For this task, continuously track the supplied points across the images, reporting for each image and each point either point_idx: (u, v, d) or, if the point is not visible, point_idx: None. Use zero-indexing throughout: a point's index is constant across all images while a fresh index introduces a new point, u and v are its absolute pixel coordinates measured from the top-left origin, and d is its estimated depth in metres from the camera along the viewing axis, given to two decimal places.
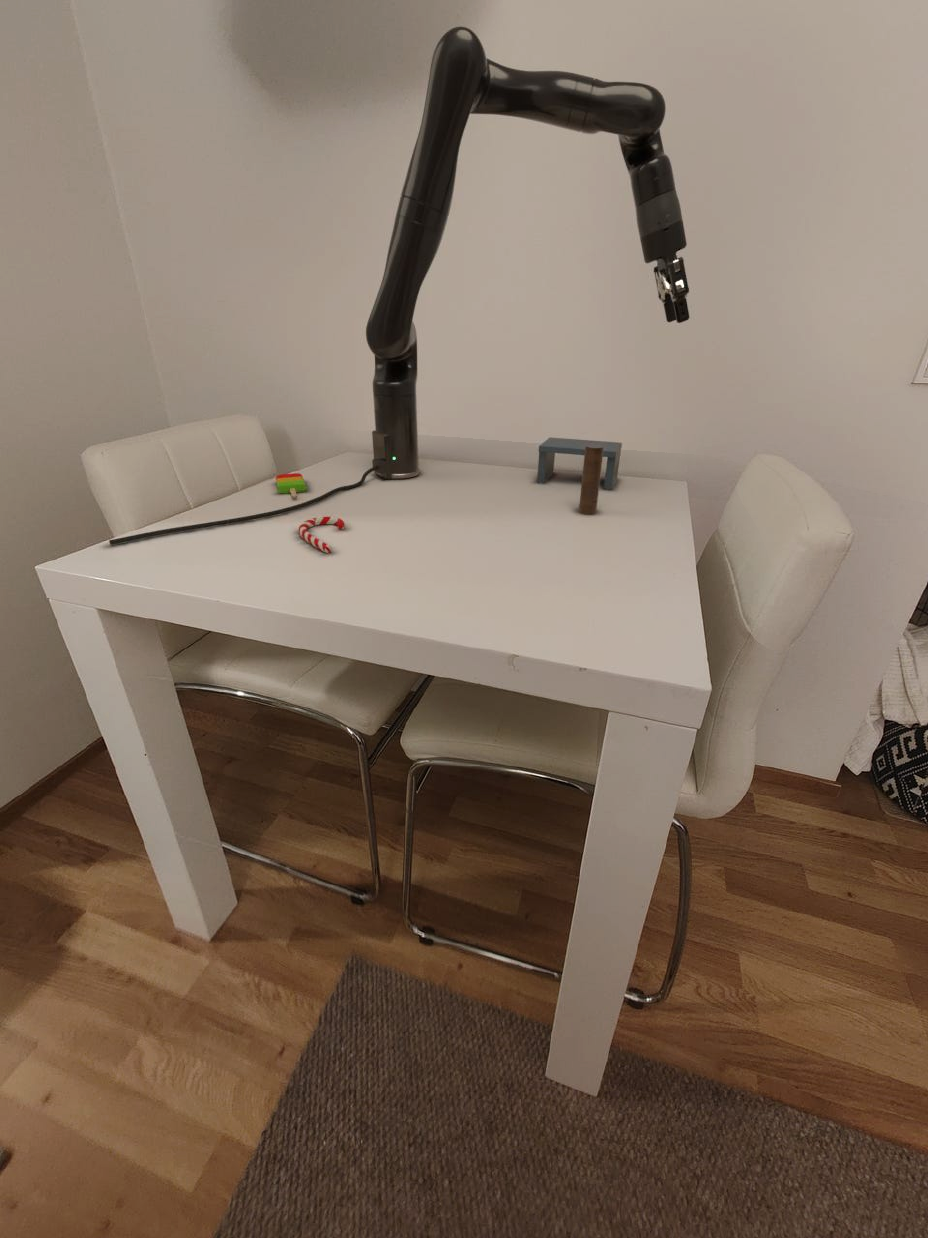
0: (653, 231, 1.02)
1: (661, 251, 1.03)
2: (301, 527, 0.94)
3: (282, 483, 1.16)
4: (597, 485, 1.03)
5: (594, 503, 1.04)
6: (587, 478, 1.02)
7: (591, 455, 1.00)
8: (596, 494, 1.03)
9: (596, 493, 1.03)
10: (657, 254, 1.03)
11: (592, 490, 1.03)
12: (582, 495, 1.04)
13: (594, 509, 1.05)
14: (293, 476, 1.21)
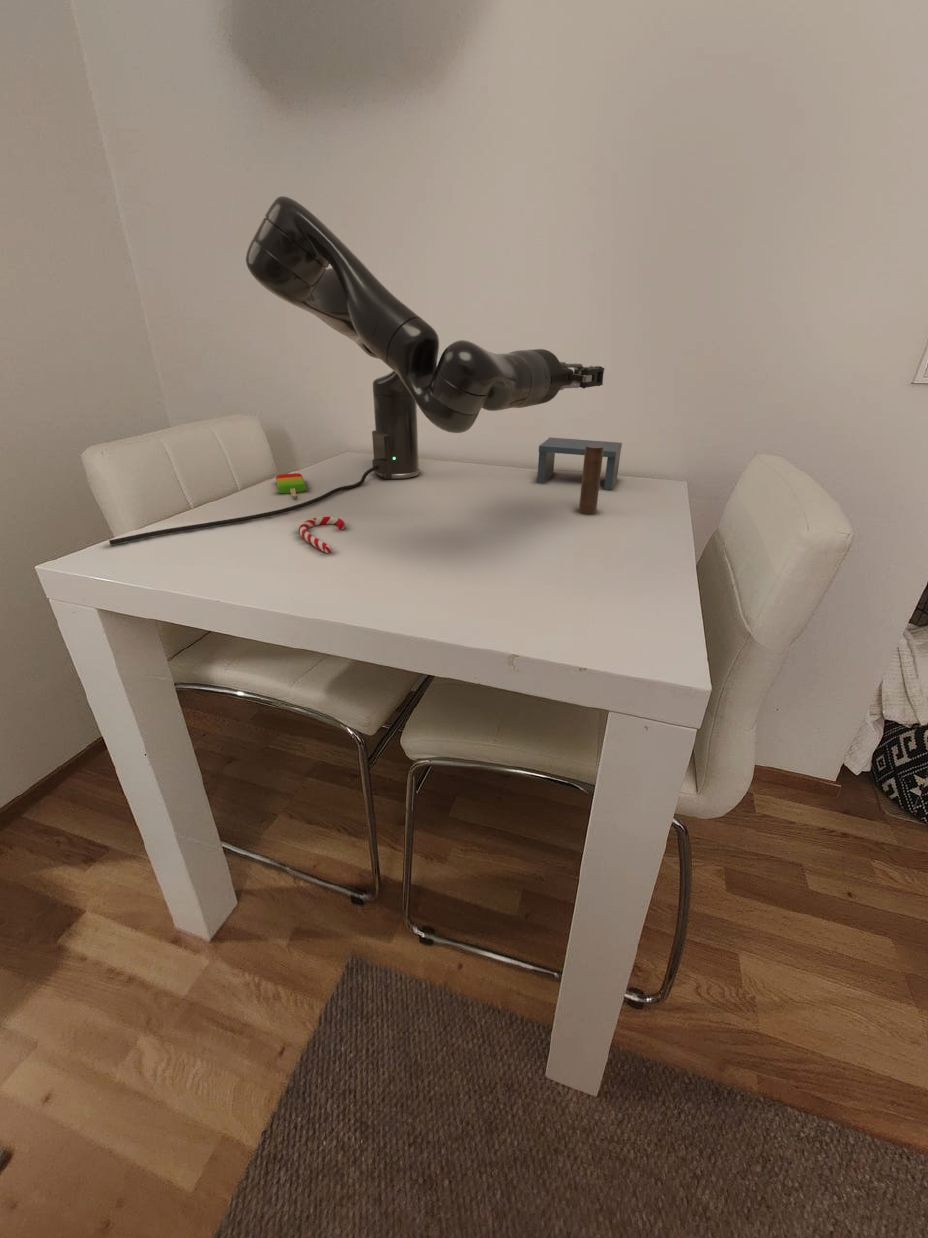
0: (545, 394, 0.81)
1: (558, 388, 0.83)
2: (301, 527, 0.94)
3: (282, 483, 1.16)
4: (597, 485, 1.03)
5: (594, 503, 1.04)
6: (587, 478, 1.02)
7: (591, 455, 1.00)
8: (596, 494, 1.03)
9: (596, 493, 1.03)
10: (556, 392, 0.84)
11: (592, 490, 1.03)
12: (582, 495, 1.04)
13: (594, 509, 1.05)
14: (293, 476, 1.21)
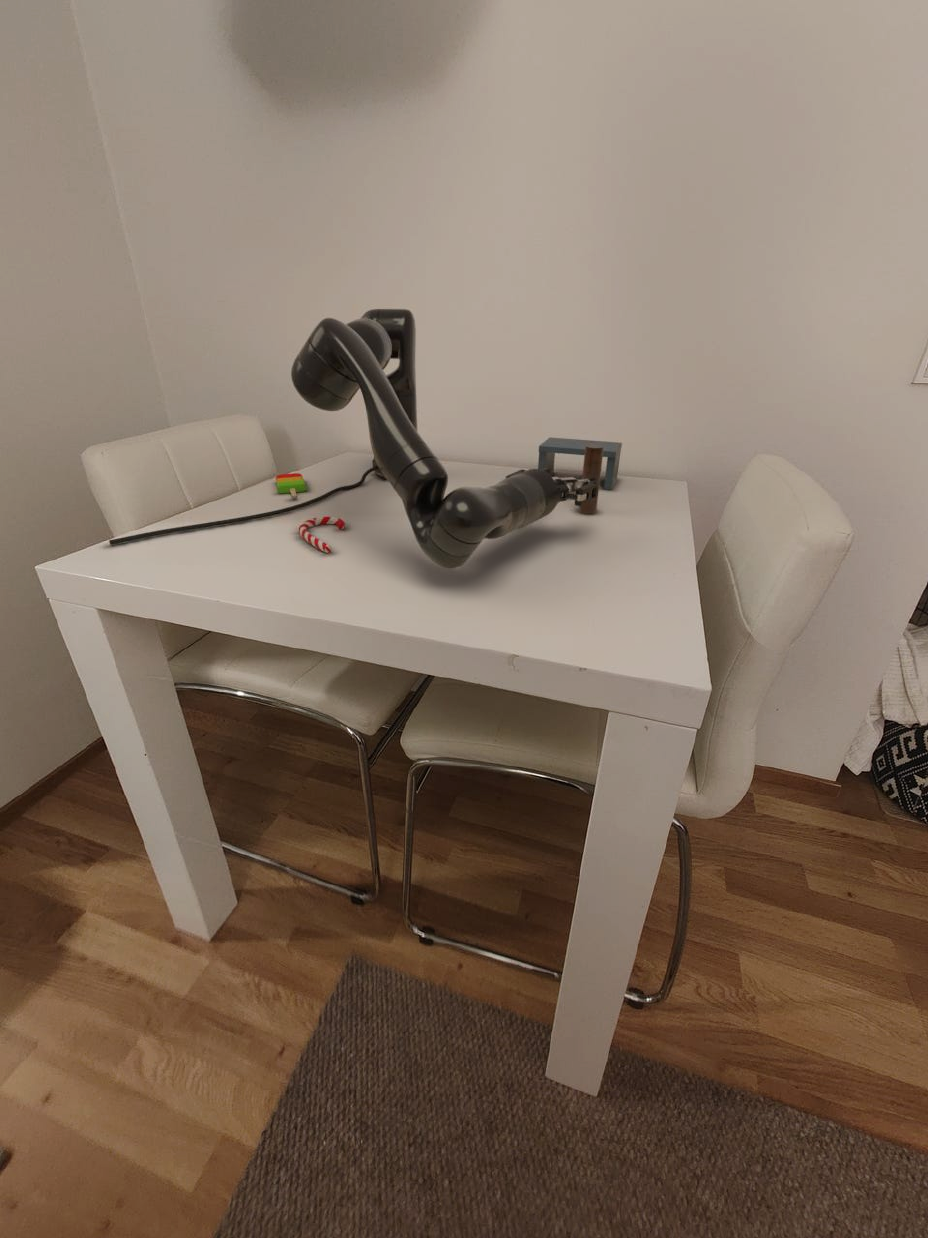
0: (541, 515, 0.84)
1: (554, 506, 0.86)
2: (301, 527, 0.94)
3: (282, 483, 1.16)
4: None
5: (594, 503, 1.04)
6: None
7: (591, 455, 1.00)
8: None
9: None
10: (552, 510, 0.87)
11: None
12: None
13: (594, 509, 1.05)
14: (293, 476, 1.21)
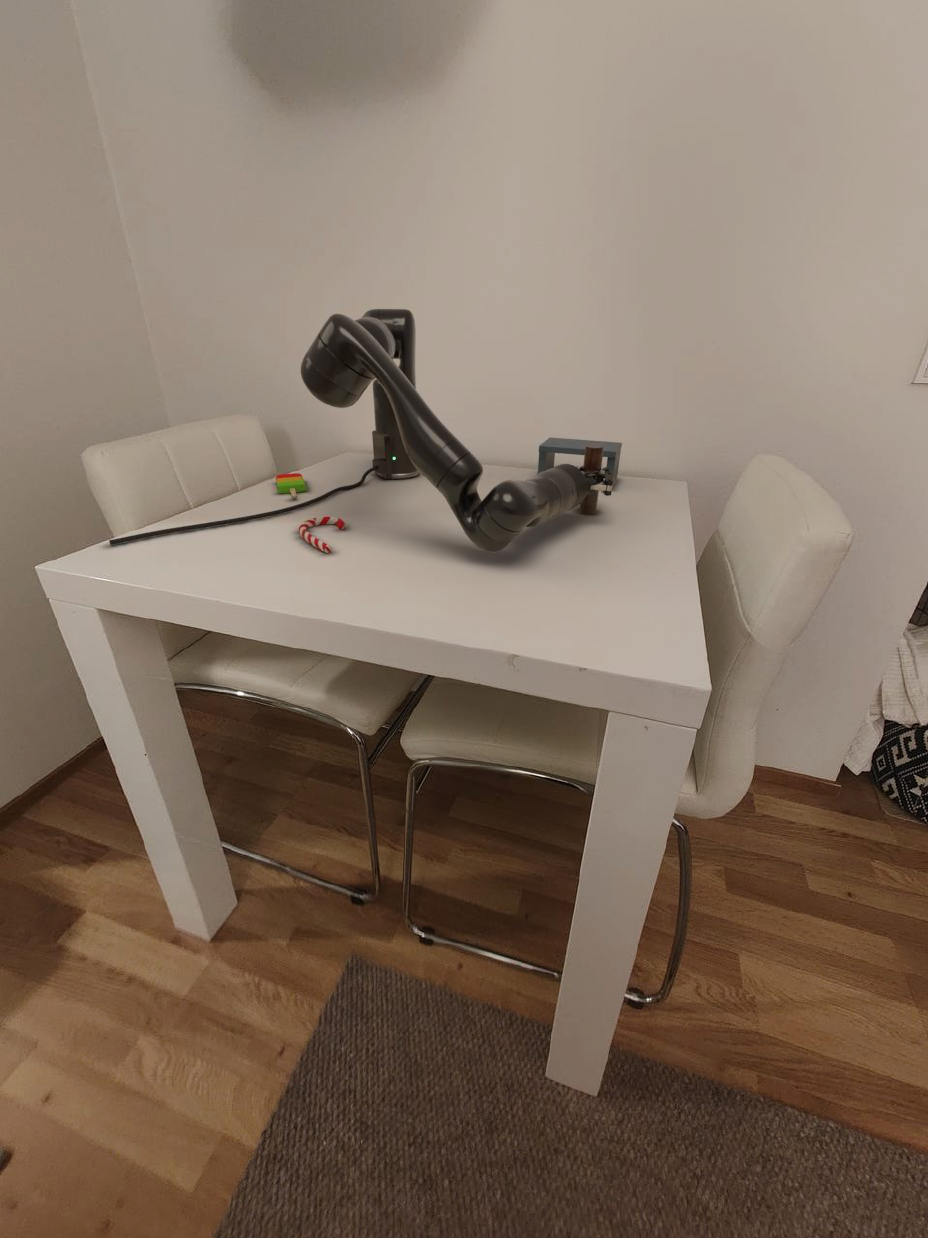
0: (572, 506, 0.92)
1: (583, 498, 0.94)
2: (301, 527, 0.94)
3: (282, 483, 1.16)
4: None
5: (594, 503, 1.04)
6: None
7: (591, 455, 1.00)
8: (596, 494, 1.03)
9: (596, 493, 1.03)
10: (581, 501, 0.95)
11: None
12: None
13: (594, 509, 1.05)
14: (293, 476, 1.21)
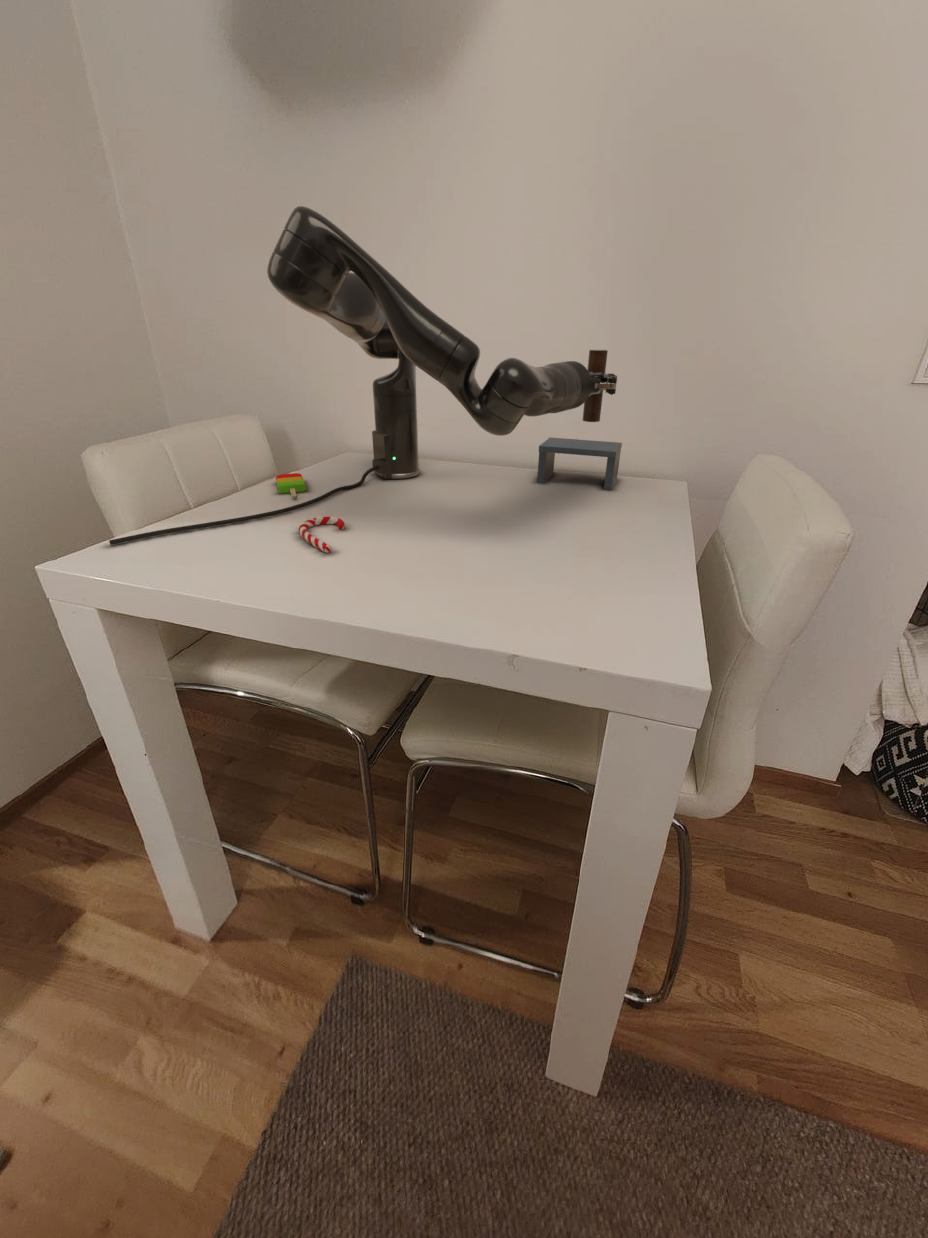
0: (576, 401, 0.93)
1: (587, 395, 0.95)
2: (301, 527, 0.94)
3: (282, 483, 1.16)
4: (601, 391, 1.03)
5: (598, 409, 1.04)
6: None
7: (595, 358, 1.00)
8: (600, 400, 1.04)
9: (600, 399, 1.04)
10: (585, 399, 0.95)
11: (596, 396, 1.03)
12: (586, 402, 1.04)
13: (598, 416, 1.05)
14: (293, 476, 1.21)
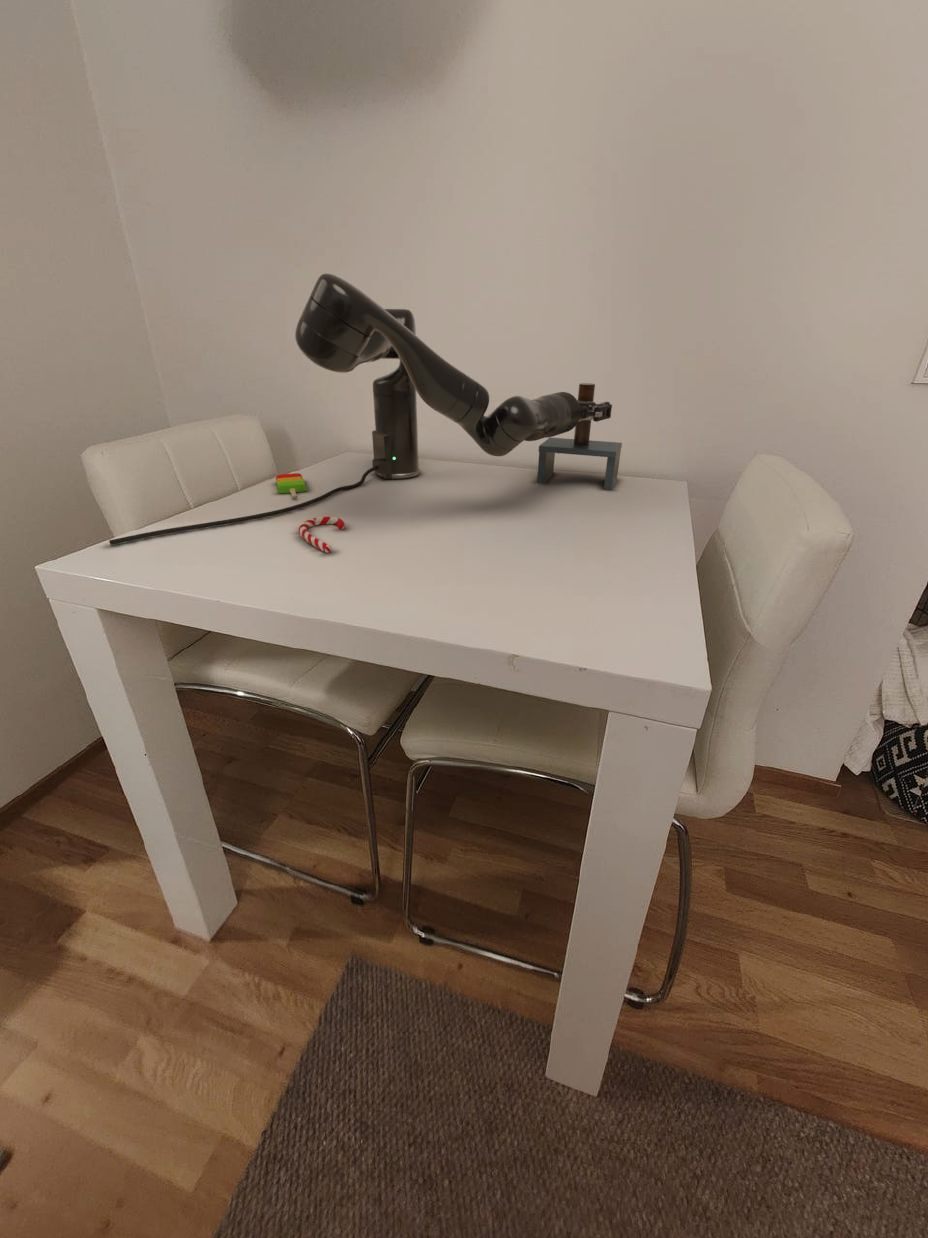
0: (567, 427, 1.07)
1: (577, 421, 1.09)
2: (301, 527, 0.94)
3: (282, 483, 1.16)
4: None
5: (587, 435, 1.19)
6: None
7: (584, 391, 1.15)
8: (588, 427, 1.19)
9: (588, 426, 1.19)
10: (575, 425, 1.10)
11: (585, 423, 1.18)
12: (577, 428, 1.19)
13: (587, 441, 1.20)
14: (293, 476, 1.21)
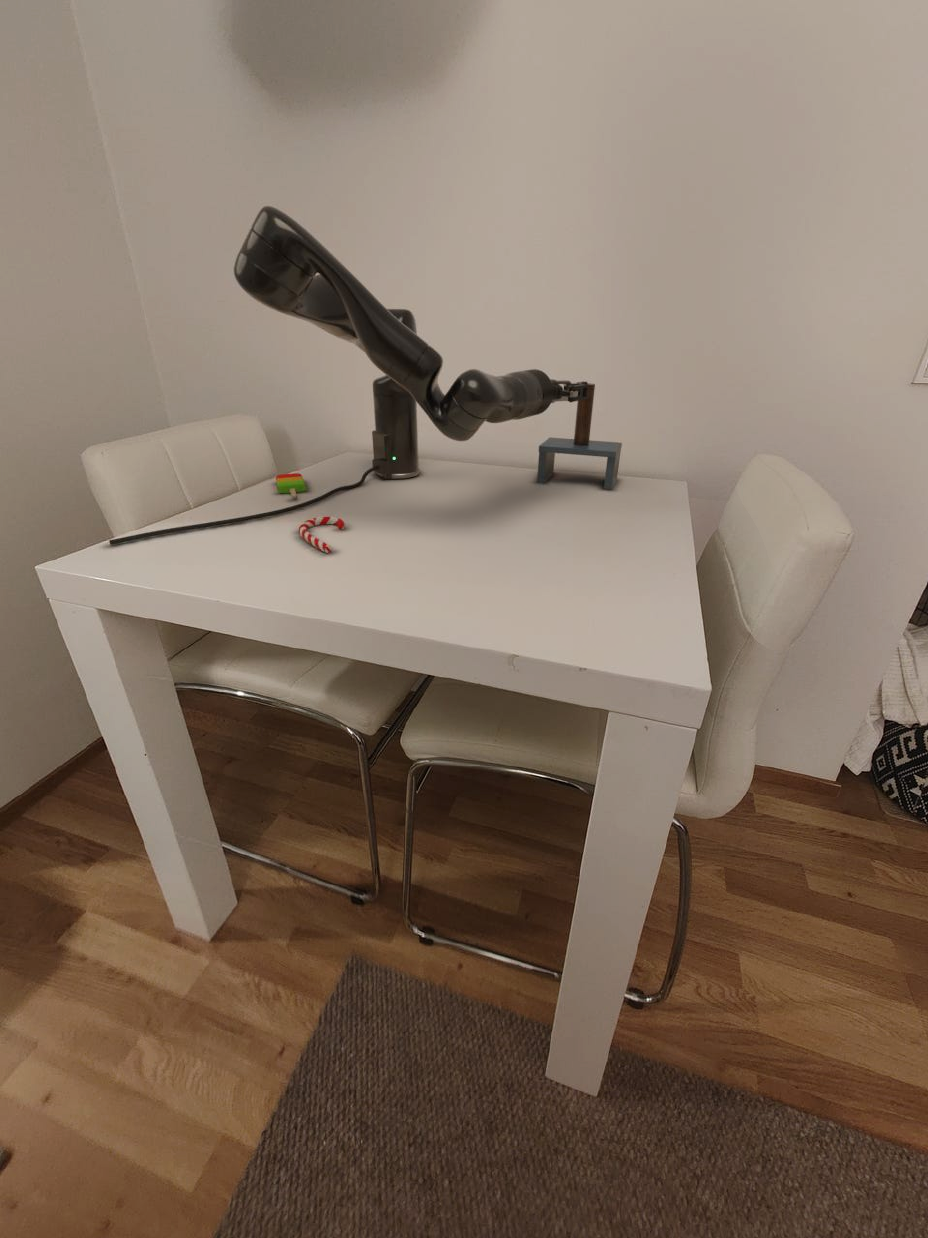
0: (538, 407, 0.97)
1: (550, 402, 0.99)
2: (301, 527, 0.94)
3: (282, 483, 1.16)
4: (589, 419, 1.18)
5: (587, 435, 1.19)
6: (580, 412, 1.17)
7: None
8: (588, 427, 1.19)
9: (588, 426, 1.19)
10: (548, 406, 0.99)
11: (585, 423, 1.18)
12: (577, 428, 1.19)
13: (587, 441, 1.20)
14: (293, 476, 1.21)
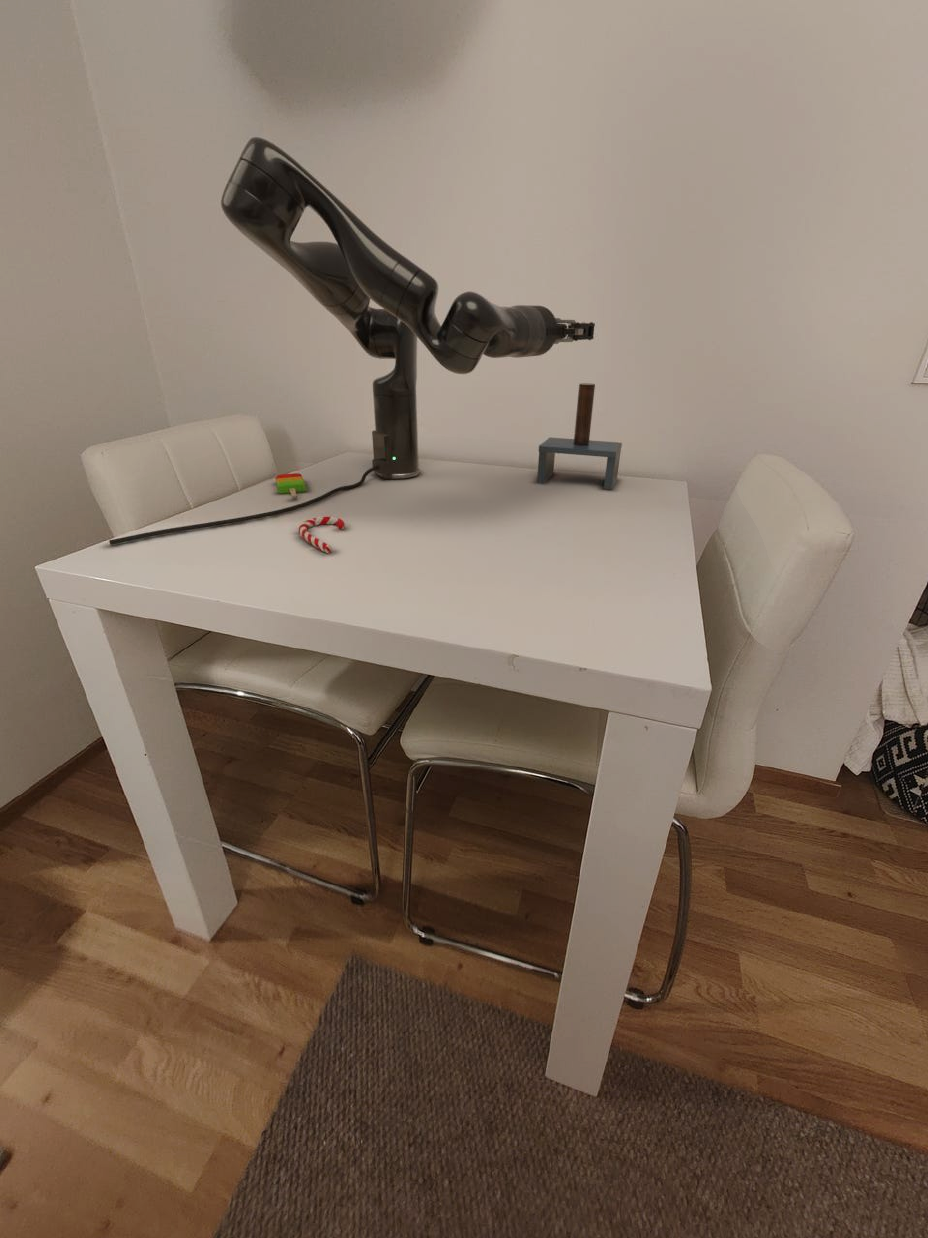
0: (541, 344, 0.92)
1: (553, 340, 0.94)
2: (301, 527, 0.94)
3: (282, 483, 1.16)
4: (589, 419, 1.18)
5: (587, 435, 1.19)
6: (580, 412, 1.17)
7: (584, 391, 1.15)
8: (588, 427, 1.19)
9: (588, 426, 1.19)
10: (552, 345, 0.95)
11: (585, 423, 1.18)
12: (577, 428, 1.19)
13: (587, 441, 1.20)
14: (293, 476, 1.21)
